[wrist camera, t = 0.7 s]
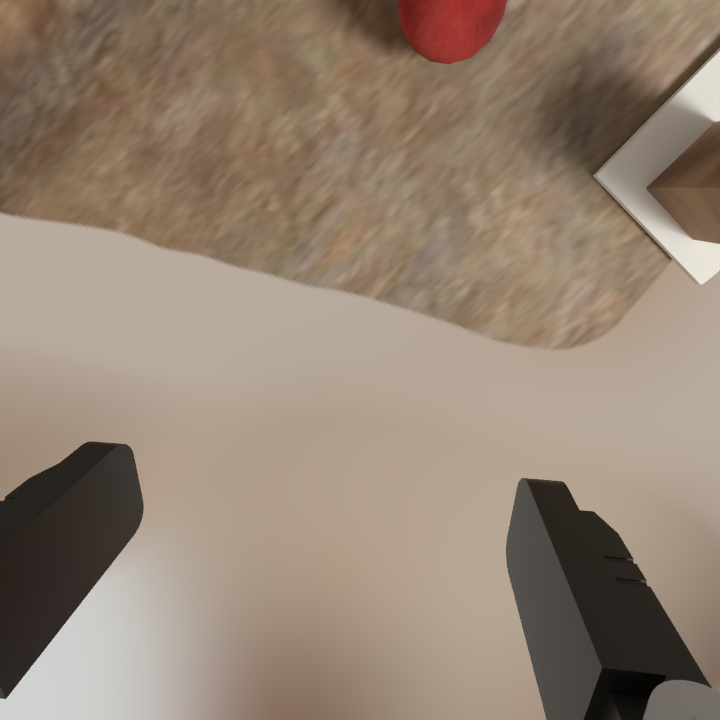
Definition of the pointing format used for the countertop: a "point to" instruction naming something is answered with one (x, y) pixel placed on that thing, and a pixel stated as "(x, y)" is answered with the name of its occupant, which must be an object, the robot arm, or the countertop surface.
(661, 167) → the mat
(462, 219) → the countertop surface
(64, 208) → the countertop surface
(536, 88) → the countertop surface
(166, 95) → the countertop surface
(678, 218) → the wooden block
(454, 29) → the onion
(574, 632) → the robot arm
